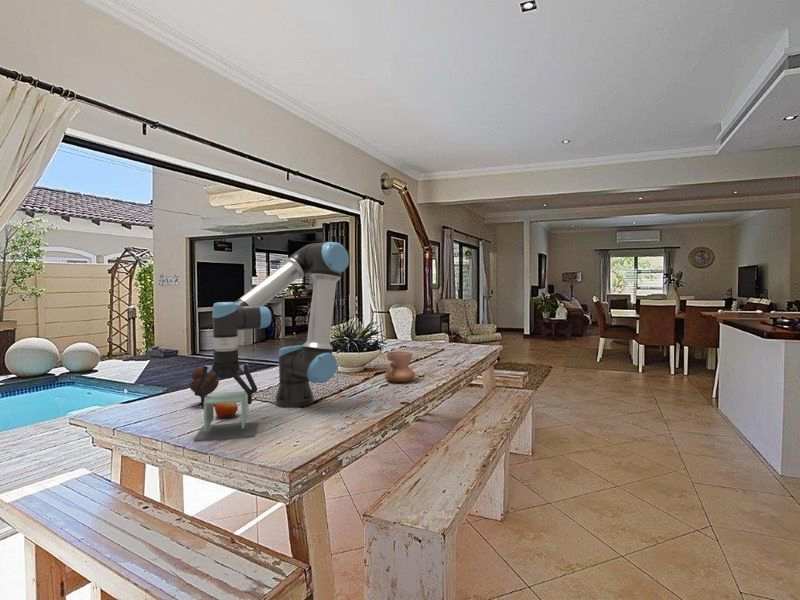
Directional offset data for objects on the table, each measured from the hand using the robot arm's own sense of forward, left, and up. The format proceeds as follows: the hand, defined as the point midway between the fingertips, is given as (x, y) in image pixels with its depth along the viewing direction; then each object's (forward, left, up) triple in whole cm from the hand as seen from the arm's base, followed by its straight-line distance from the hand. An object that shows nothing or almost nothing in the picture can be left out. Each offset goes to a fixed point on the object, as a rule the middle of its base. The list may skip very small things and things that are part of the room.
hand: (227, 415), depth 153 cm
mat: (0, 0, -6) cm, 6 cm away
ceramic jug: (-70, -60, -6) cm, 92 cm away
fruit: (+3, -18, -6) cm, 19 cm away
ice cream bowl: (+14, -36, -6) cm, 39 cm away
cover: (0, 0, -3) cm, 3 cm away
